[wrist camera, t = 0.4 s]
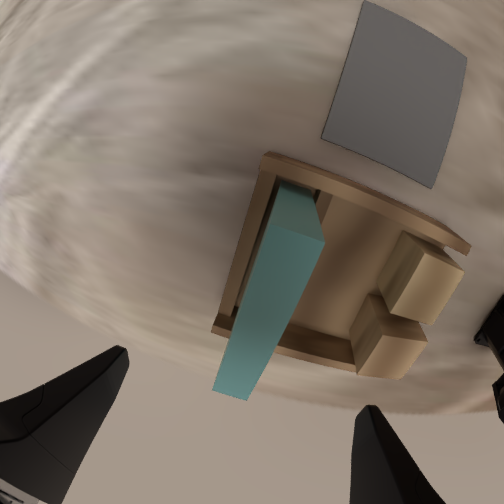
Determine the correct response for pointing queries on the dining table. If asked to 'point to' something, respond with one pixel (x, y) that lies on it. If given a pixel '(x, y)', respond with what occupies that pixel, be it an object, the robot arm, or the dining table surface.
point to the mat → (397, 95)
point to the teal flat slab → (272, 289)
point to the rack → (328, 256)
